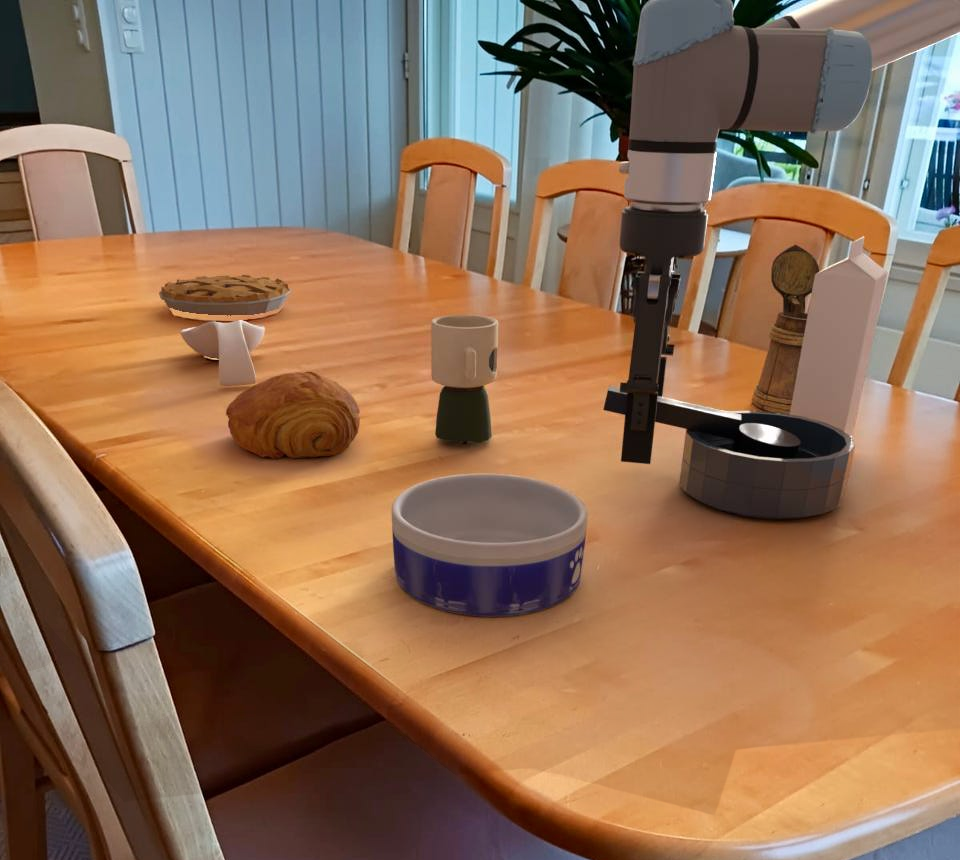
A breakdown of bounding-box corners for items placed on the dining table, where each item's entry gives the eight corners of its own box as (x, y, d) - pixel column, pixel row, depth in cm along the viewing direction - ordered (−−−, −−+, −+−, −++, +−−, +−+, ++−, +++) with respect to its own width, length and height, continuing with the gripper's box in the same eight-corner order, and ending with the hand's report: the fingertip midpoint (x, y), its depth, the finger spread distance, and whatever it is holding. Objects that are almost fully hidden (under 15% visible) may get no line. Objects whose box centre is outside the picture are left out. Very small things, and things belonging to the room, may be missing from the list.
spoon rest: (180, 349, 143) (173, 298, 140) (261, 344, 147) (256, 295, 143) (194, 391, 124) (187, 333, 120) (286, 385, 127) (282, 328, 124)
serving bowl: (833, 474, 101) (845, 417, 98) (849, 531, 88) (863, 468, 85) (682, 460, 104) (689, 405, 101) (675, 514, 91) (683, 452, 88)
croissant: (353, 435, 116) (351, 366, 113) (367, 460, 102) (365, 382, 99) (229, 438, 113) (223, 367, 110) (226, 463, 99) (219, 383, 96)
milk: (849, 451, 108) (897, 238, 97) (837, 466, 103) (886, 245, 93) (794, 441, 111) (835, 233, 100) (780, 455, 106) (821, 239, 95)
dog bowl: (441, 525, 87) (441, 461, 84) (605, 555, 82) (611, 488, 79) (359, 595, 75) (355, 523, 72) (546, 636, 70) (550, 560, 67)
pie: (310, 303, 175) (308, 273, 173) (259, 327, 157) (256, 295, 154) (199, 295, 179) (196, 267, 177) (137, 319, 161) (132, 287, 158)
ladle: (782, 479, 98) (802, 422, 95) (785, 500, 93) (806, 441, 90) (598, 436, 100) (612, 379, 97) (591, 455, 95) (605, 395, 92)
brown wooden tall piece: (805, 387, 131) (831, 245, 122) (834, 417, 119) (865, 261, 110) (738, 386, 131) (760, 243, 122) (761, 415, 119) (786, 259, 110)
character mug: (503, 455, 104) (507, 331, 98) (437, 457, 103) (437, 332, 97) (486, 425, 114) (489, 310, 107) (426, 426, 113) (425, 310, 106)
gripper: (634, 191, 97) (616, 402, 107) (607, 219, 76) (587, 478, 86) (711, 194, 95) (684, 407, 106) (705, 223, 74) (673, 486, 85)
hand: (641, 439), depth 96 cm, fingers open, 13 cm apart
